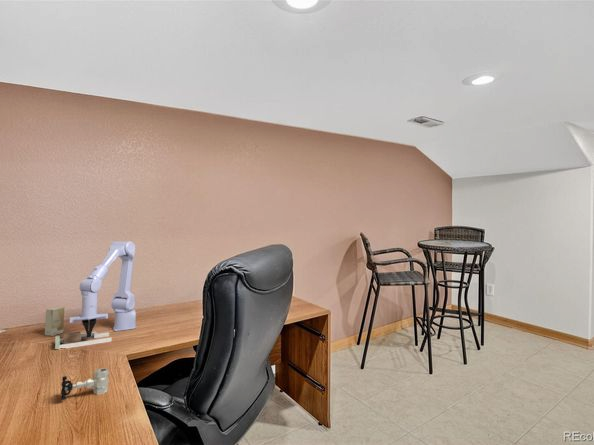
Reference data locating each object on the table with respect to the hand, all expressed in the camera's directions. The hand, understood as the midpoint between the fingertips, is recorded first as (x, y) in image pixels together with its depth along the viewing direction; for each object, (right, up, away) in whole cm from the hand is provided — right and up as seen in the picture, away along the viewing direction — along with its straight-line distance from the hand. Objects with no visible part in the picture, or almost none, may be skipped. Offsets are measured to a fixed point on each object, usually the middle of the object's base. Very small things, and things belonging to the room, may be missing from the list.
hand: (88, 336), depth 150 cm
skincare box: (-22, -2, +10) cm, 25 cm away
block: (-5, -2, -4) cm, 7 cm away
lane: (-3, -2, +1) cm, 4 cm away
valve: (+29, -2, -48) cm, 56 cm away
